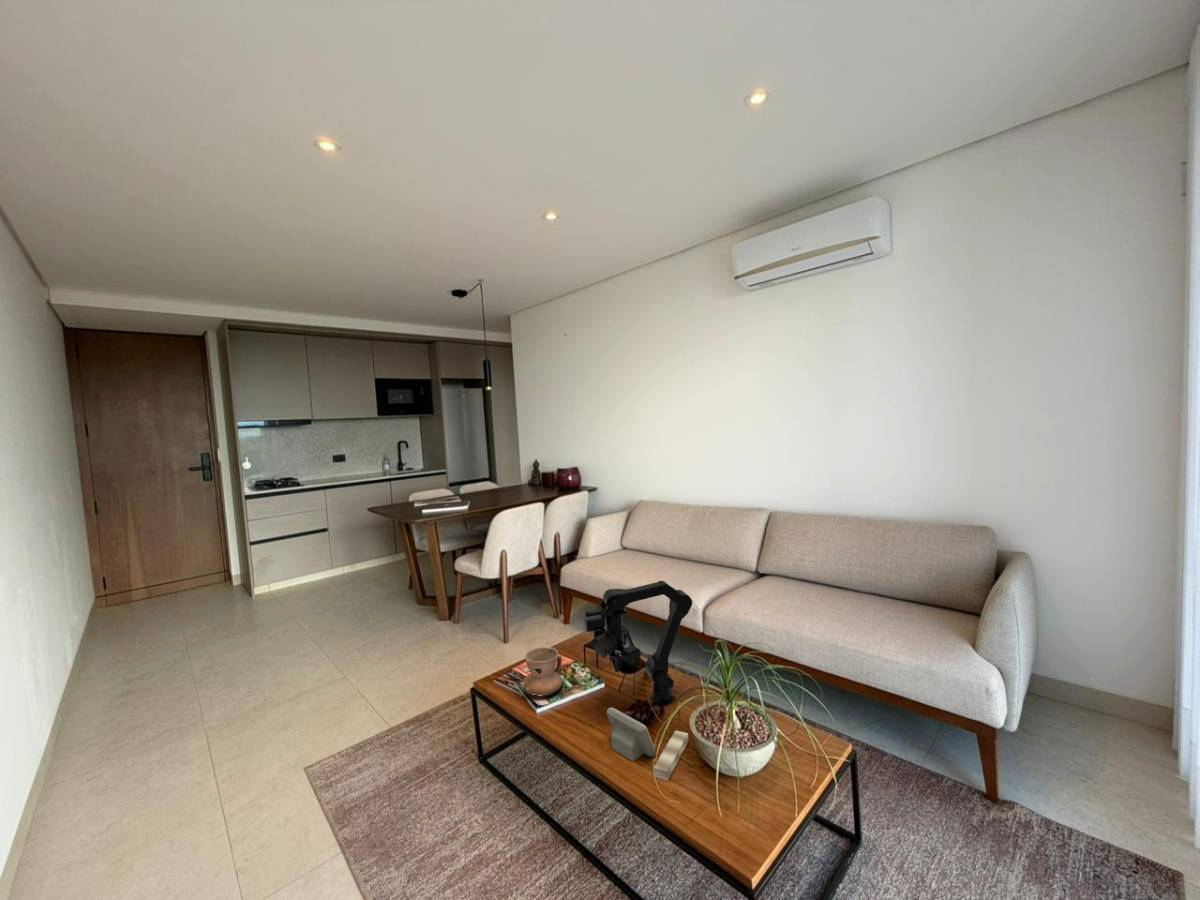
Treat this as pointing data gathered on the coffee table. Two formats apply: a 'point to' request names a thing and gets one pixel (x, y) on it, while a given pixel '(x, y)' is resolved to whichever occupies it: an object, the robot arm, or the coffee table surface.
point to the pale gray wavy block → (670, 755)
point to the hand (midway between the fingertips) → (617, 671)
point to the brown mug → (542, 671)
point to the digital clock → (629, 736)
